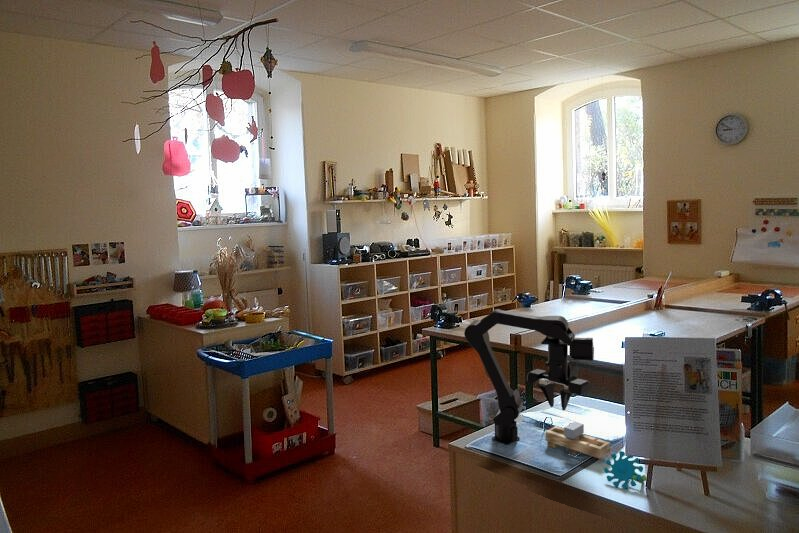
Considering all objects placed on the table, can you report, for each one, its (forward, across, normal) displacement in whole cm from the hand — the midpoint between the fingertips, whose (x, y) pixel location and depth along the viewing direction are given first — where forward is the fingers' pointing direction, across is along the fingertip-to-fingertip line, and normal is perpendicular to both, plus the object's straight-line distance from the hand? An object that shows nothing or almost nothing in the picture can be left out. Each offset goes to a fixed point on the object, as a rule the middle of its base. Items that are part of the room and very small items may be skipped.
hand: (557, 408), depth 183 cm
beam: (+12, -6, 0) cm, 14 cm away
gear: (+12, -26, +8) cm, 29 cm away
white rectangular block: (+8, -6, 0) cm, 10 cm away
